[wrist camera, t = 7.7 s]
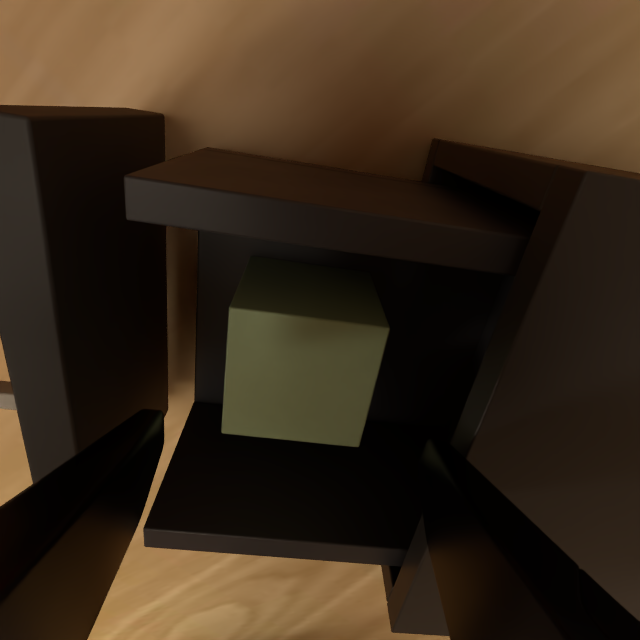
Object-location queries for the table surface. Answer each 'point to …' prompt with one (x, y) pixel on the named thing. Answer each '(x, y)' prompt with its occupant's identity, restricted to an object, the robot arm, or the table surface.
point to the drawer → (212, 321)
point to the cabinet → (552, 375)
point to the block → (302, 352)
